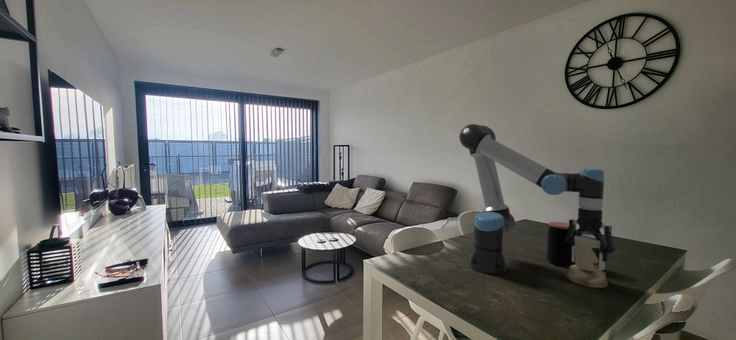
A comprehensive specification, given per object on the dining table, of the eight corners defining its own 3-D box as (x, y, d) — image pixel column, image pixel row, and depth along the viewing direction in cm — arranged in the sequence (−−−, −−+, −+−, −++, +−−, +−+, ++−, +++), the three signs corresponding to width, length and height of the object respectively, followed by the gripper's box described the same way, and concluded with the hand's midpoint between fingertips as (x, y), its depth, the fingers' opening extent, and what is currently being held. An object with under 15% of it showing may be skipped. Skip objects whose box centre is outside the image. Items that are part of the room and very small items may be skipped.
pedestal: (569, 283, 112) (569, 272, 112) (564, 271, 124) (565, 262, 124) (612, 290, 106) (612, 280, 106) (603, 277, 118) (603, 267, 117)
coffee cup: (597, 274, 108) (598, 242, 108) (569, 266, 116) (570, 236, 115) (606, 268, 113) (607, 238, 113) (578, 261, 121) (579, 232, 121)
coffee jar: (579, 268, 127) (581, 227, 126) (552, 266, 129) (554, 226, 128) (567, 259, 137) (569, 222, 136) (543, 258, 140) (544, 221, 139)
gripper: (629, 212, 106) (626, 273, 107) (565, 203, 125) (563, 255, 126) (619, 214, 102) (616, 277, 103) (556, 204, 121) (553, 258, 122)
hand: (587, 265), depth 115 cm, fingers closed on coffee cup, 9 cm apart
